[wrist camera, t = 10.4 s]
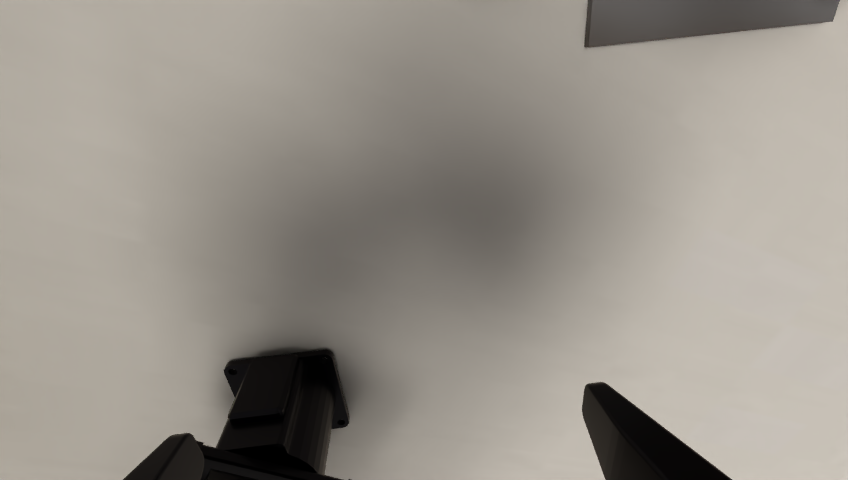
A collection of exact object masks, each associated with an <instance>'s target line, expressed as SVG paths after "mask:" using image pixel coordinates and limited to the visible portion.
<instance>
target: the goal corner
mask: <svg viewBox="0 0 848 480" xmlns="http://www.w3.org/2000/svg"><path fill="white" fill-rule="evenodd" d="M839 1H840V0H589V1H588V13H587V25H586V37H585V47H595V46H604V45H614V44H623V43H633V42H642V41H651V40H661V39H670V38H680V37H689V36H699V35H708V34H718V33H727V32H737V31H746V30H756V29H765V28H775V27H784V26H794V25H803V24H813V23H822V22H832V21H833V19H834V16H835V13H836V10H837V7H838V4H839Z"/></svg>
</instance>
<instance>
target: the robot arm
mask: <svg viewBox="0 0 848 480" xmlns="http://www.w3.org/2000/svg"><path fill="white" fill-rule="evenodd" d="M323 358H327V359H323ZM233 369H235V370H233ZM224 373H225V376H226V378H227V380H228V383H229V385H230V387H231V390H232V392H233V394H234V396H235V400H234V402H233V404H232V407H231V409H230V411H229V414H228V420H227V422H226V425H225V427H224V430H223V432H222V434H221V437H220V439H219V441H218V444H217V446H216V448H214V447H210V446H206V445H203V443H202V442H198V441H196V440H195V438H194V436H193V435H192V434H190V433H184V434H176V435H172V436H170V437H168V438H167V439H166V440H165V441H164V442H163V443H162V444H161V445H160V446H158V447H157V448H156V449H155V450H154V451H153V452H152V453H151V454H150V455H149V456H148V457H147V458H146V459H145V460H143V461H142V462H141V463H140V464H139V465H138V466H137V467H136V468H135V469H134V470H133V471H132V472H131V473H130V474H128V475H127V476H126V477H125V478H124V479H123V480H342V479H338V478H334V477H330V476H326V475H324V474H325V468H326V461H327V454H328V448H329V441H330V434H331V429H335V428H343V427H346V426H347V425H348V424H349V413H348V410H347V406H346V402H345V398H344V394H343V390H342V386H341V382H340V378H339V375H338V371H337V367H336V363H335V359H334V355H333V353H332V352H331V351H329V350H318V351H310V352H302V353H293V354H285V355H277V356H269V357H260V358H252V359H244V360H236V361H230V362H228V363H227V365H226V367H225V369H224ZM582 413H583V418H584V421H585V424H586V427H587V429H588V432H589V435H590V438H591V440H592V443H593V446H594V449H595V452H596V454H597V457H598V460H599V463H600V466H601V468H602V471H603V474H604V477H605V479H606V480H732V479H731V478H729V477H728V476H727V475H725V474H724V473H723V472H721V471H720V470H719V469H717V468H716V467H715V466H714V465H712V464H711V463H710V462H708V461H707V460H706V459H704V458H703V457H702V456H700V455H699V454H698V453H696V452H695V451H694V450H693V449H691V448H690V447H689V446H687V445H686V444H685V443H683V442H682V441H681V440H679V439H678V438H677V437H676V436H674V435H673V434H672V433H670V432H669V431H668V430H666V429H665V428H664V427H662V426H661V425H660V424H659V423H657V422H656V421H655V420H653V419H652V418H651V417H649V416H648V415H647V414H645V413H644V412H643V411H642V410H640V409H639V408H638V407H636V406H635V405H634V404H632V403H631V402H630V401H628V400H627V399H626V398H625V397H623V396H622V395H621V394H619V393H618V392H617V391H615V390H614V389H613V388H611V387H610V386H609V385H607V384H606V383H603V382H597V383H589V384H587V385H586V386H585V389H584V397H583V405H582ZM349 480H350V479H349Z"/></svg>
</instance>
